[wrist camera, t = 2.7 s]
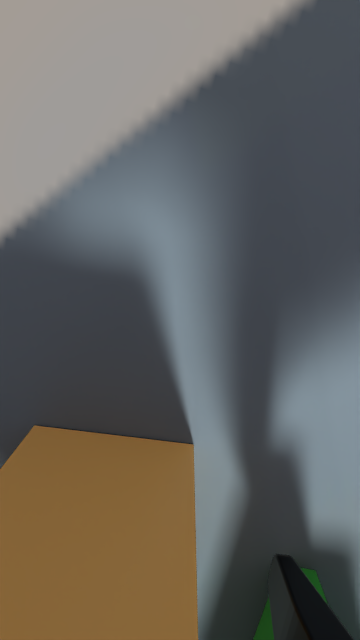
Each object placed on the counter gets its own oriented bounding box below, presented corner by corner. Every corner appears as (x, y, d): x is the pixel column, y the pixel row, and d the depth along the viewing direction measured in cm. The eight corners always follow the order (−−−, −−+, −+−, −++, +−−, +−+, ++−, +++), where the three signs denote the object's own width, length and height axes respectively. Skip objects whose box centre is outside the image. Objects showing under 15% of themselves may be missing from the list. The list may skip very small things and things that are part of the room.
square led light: (175, 565, 10) (159, 959, 5) (33, 549, 10) (-148, 927, 5) (193, 444, 9) (201, 778, 4) (33, 425, 9) (-206, 733, 4)
